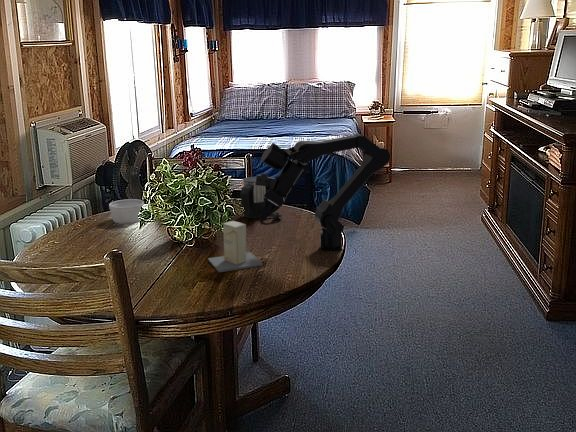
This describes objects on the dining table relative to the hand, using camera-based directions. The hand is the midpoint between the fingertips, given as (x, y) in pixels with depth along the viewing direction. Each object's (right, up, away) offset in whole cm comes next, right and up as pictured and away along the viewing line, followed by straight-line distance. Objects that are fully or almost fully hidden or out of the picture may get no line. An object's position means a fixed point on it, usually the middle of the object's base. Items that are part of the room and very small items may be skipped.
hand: (261, 219), depth 198 cm
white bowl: (-54, -1, +45) cm, 71 cm away
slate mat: (-8, -14, -3) cm, 16 cm away
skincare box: (-8, -13, -4) cm, 16 cm away
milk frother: (-1, 0, +45) cm, 45 cm away
